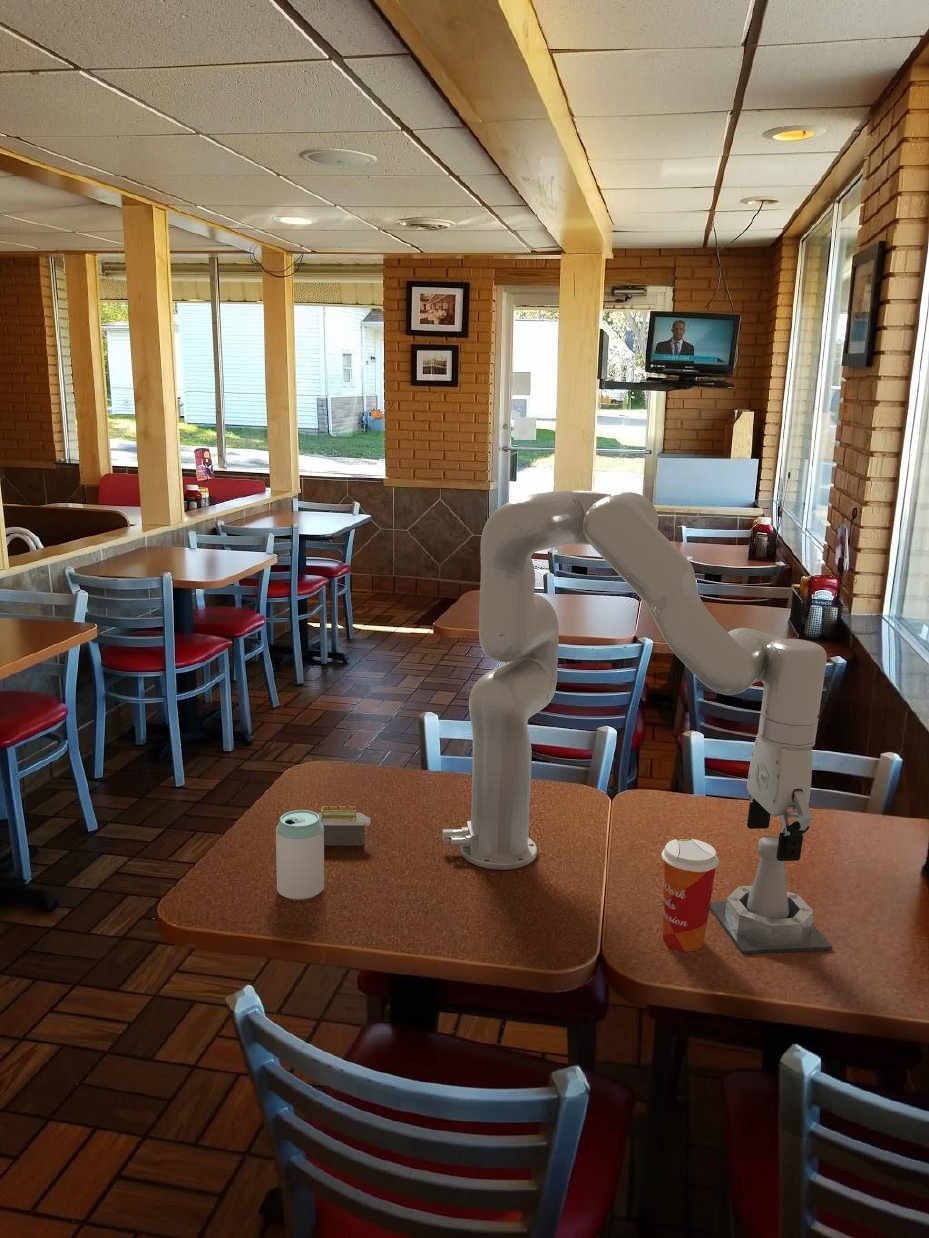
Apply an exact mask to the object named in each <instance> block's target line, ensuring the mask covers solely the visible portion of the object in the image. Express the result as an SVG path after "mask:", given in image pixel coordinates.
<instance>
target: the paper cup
mask: <svg viewBox="0 0 929 1238" xmlns="http://www.w3.org/2000/svg"><path fill="white" fill-rule="evenodd" d="M690 839H691V840H690ZM690 839H688V838H686V839H685V838H684V839H681V838H680V839H678V840H677V839H676V838H675V839H672V840H669V841H668V842H667V843H666V844H665V847H664V849H663V850H662V851H661V859H662V860H663V870H662V871H663V879H662V881H663V882H662V883H663V885H662V939H663V943H664V944H665V946H667V947H668V948H670V949H673V950H674V949H675V950H674V951H677V950H678V952H681V953H682V952H683V953H693V952H692V951H694V952H697V951H699V950H701V949H702V948H703V945H704V942H705V938H706V931H707V925H708V919H709V913H710V909H709V907H710V902H712V901H711V899H712V893H713V888H714V881H715V875H716V868H717V867H718V866H719V864H720V860H719V857H718V856H717V851H716V849H715V848H714V847H713V846H712V845H711V844H709V843H708V842H705V841H701V840H699V839H694V838H690ZM701 947H702V948H701ZM700 948H701V949H700ZM698 949H699V950H698ZM696 950H697V951H696ZM690 951H691V952H690Z"/></svg>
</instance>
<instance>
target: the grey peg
mask: <svg viewBox="0 0 929 1238" xmlns="http://www.w3.org/2000/svg"><path fill="white" fill-rule="evenodd" d="M778 841H779V836H777V835H764V836H763V837H762V838H760V839H759V840H758V842H757V843H758V844H757V852H758V854H759V856H760V859H759V862H758V866H757V869H756V874H755V877H754V880H753V883H752V885H751V886H752V889H751V892H750V895H749V898H748V901H747V910H748V912H751V913H754V914H757V915H760V916H763V917H766V918H768V919H786V918H787V917H788V914H789V908H788V899H787V891H788V890H787V889H788V888H787V879H786V878H787V877H786V866H785V861H779V860H778V859H777V858H776V856H777V848H778Z"/></svg>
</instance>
